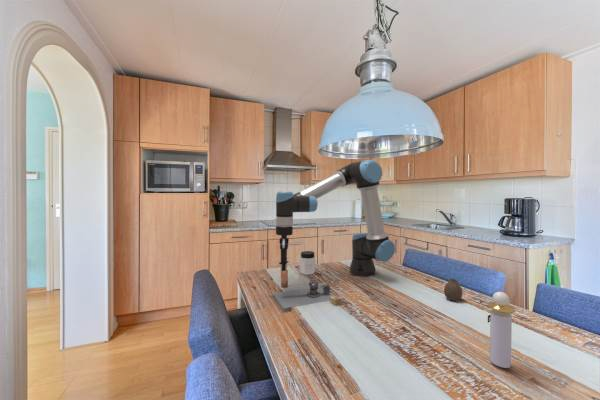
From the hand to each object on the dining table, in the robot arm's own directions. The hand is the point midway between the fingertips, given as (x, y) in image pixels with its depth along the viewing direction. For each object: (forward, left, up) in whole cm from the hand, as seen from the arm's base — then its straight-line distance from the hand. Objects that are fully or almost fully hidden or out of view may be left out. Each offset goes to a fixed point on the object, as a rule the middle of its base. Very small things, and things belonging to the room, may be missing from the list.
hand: (283, 277), depth 118 cm
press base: (-8, +5, -9) cm, 13 cm away
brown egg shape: (-68, +30, -9) cm, 75 cm away
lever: (-9, +5, -7) cm, 12 cm away
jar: (-24, -30, -9) cm, 40 cm away
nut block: (-17, +15, -7) cm, 24 cm away
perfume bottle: (-41, +66, -9) cm, 78 cm away
